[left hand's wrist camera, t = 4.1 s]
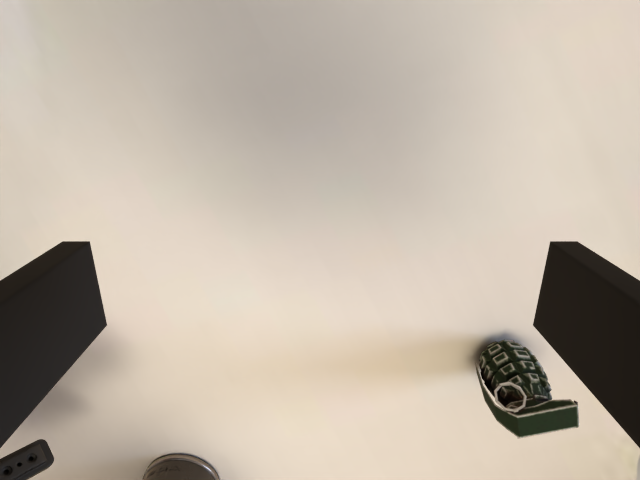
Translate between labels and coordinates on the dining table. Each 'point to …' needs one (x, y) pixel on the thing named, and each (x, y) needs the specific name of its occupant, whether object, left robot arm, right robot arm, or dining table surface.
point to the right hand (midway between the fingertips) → (35, 465)
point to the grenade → (522, 392)
